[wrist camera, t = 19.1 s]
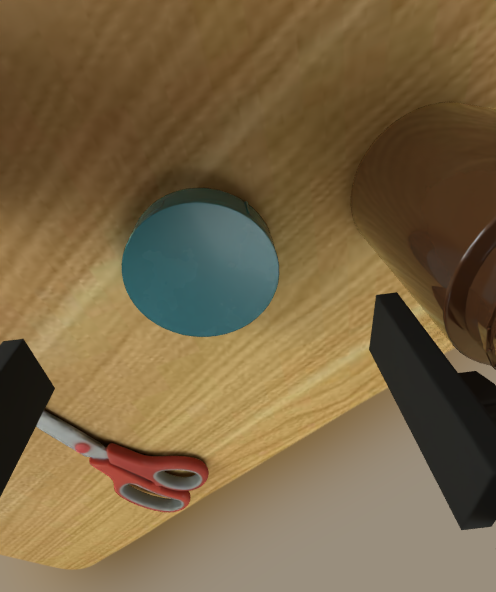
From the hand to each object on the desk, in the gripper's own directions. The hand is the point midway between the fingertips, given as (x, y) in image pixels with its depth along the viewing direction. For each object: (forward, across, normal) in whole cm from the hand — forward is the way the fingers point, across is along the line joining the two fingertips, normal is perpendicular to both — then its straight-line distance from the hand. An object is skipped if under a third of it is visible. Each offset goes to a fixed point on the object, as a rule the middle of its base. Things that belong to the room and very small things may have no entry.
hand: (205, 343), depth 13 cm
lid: (+5, 0, 0) cm, 5 cm away
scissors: (+7, -12, -16) cm, 21 cm away
